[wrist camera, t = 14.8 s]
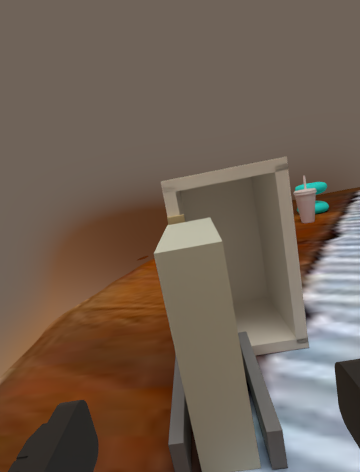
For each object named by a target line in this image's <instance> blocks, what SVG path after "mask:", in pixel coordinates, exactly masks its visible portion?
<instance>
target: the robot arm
mask: <svg viewBox="0 0 360 472" xmlns="http://www.w3.org/2000/svg"><path fill="white" fill-rule="evenodd" d="M335 375H336V385H337V394H338V403H339V409H340V412H341V415H342V418H343V420H344V423H345V425H346V427H347V429H348V430H349V432H350V434H351V435H352V437H353V438H354V440H355V442H356V443H357V445H358V446H359V448H360V359H355V360H348V361H342V362H336V363H335ZM97 457H98V438H97V434H96V431H95V428H94V425H93V422H92V418H91V415H90V412H89V409H88V406H87V403H86V402H85V401H84V400H78V401H71V402H65V403H60V404H59V405H58V406H57V407H56V409H55V411H54V412H53V414H52V416H51V418H50V419H49V421H48V423H46V424H42V425H41V426H40V427H39V428H38V429H37V430H36V431H35V433H34V434H33V435H32V436H31V437H30V438H29V439H28V440H27V441H26V443H25V445H24V446H23V448H22V450H21V451H20V453H19V454H18V456H17V460H16V461H14V463H13V464H12V466H11V467H10V469H9V471H8V472H93V470H94V467H95V464H96V461H97Z"/></svg>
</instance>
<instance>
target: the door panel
mask: <svg viewBox="0 0 360 472" xmlns="http://www.w3.org/2000/svg"><path fill="white" fill-rule="evenodd" d="M154 257H155V261H156V266H157V270H158V275H159V279H160V284H161V289H162V293H163V298H164V302H165V307H166V311H167V316H168V320H169V325H170V329H171V334H172V338H173V343H174V347H175V352H176V357H177V361H178V366H179V370H180V375H181V379H182V384H183V388H184V393H185V397H186V402H187V406H188V411H189V415H190V420H191V425H192V429H193V434H194V438H195V443H196V447H197V452H198V456H199V461H200V465H201V470H202V472H235V471H243V470H251V469H259V468H261V465H260V459H259V453H258V447H257V441H256V436H255V430H254V424H253V418H252V412H251V406H250V400H249V395H248V389H247V383H246V377H245V371H244V365H243V359H242V354H241V348H240V342H239V336H238V330H237V324H236V318H235V313H234V307H233V301H232V295H231V289H230V283H229V277H228V272H227V266H226V260H225V254H224V248H223V242H222V240H221V238H220V236H219V234H218V232H217V230H216V228H215V226H214V224H213V222H212V220H211V218H204V219H199V220H194V221H188V222H183V223H178V224H172V225H168V226H167V228H166V230H165V232H164V234H163V236H162V238H161V240H160V242H159V244H158V246H157V248H156V251H155V253H154Z"/></svg>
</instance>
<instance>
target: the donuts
mask: <svg viewBox="0 0 360 472" xmlns="http://www.w3.org/2000/svg"><path fill="white" fill-rule="evenodd" d="M311 188H315V189H316V191H317V192H316V193H315V195H316V194H319V193H322V192H324V191H325V190H326V188H327V185H326V183H324V182H314V183H308V184H306V189H311ZM303 189H304V184H303V185H299V186H297V187H296V189H295V191H298V190H303ZM328 208H329V205H328V204H327V203H326V202H324V201H315V214H319V213H323V212H325V211H327V210H328ZM297 211H298V213H299V210H298V209H297Z"/></svg>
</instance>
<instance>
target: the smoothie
mask: <svg viewBox="0 0 360 472" xmlns="http://www.w3.org/2000/svg"><path fill="white" fill-rule="evenodd" d="M303 180H304V189H303V190H298V191H295V192H294V195H295V198H296V202H297V206H298V210H299V214H300V218H301V222H302V223H310V222H314V221H315V193H316V192H317V191H316V189H315V188H311V189H306V180H305V176H303Z"/></svg>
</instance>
